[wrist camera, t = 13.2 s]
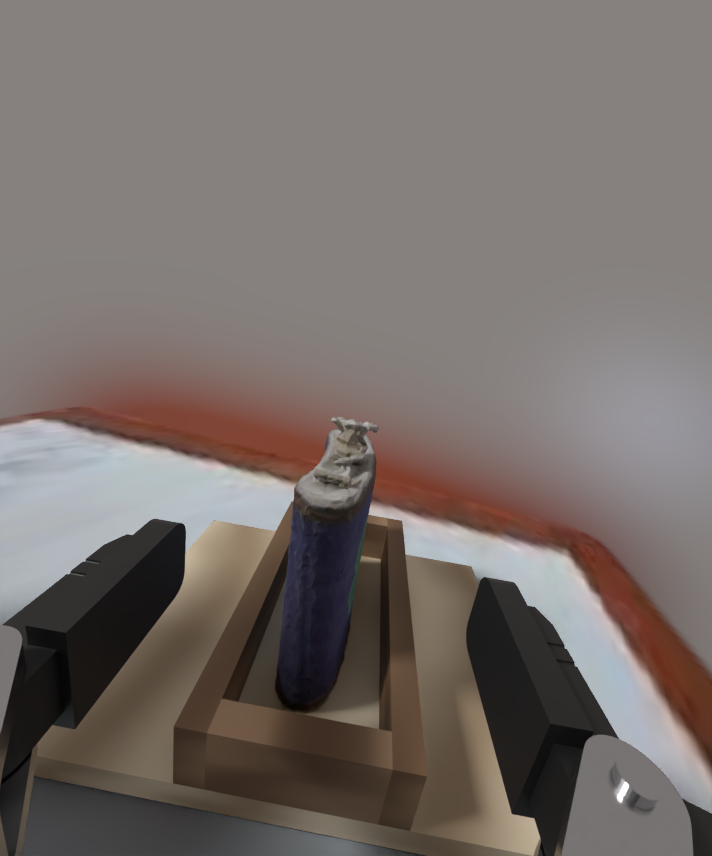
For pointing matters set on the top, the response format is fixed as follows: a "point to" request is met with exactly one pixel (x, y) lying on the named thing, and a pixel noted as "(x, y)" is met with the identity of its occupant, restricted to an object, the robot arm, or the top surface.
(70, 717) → the robot arm
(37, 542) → the top surface
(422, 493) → the top surface
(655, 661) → the top surface
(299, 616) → the flask
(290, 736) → the slot board
